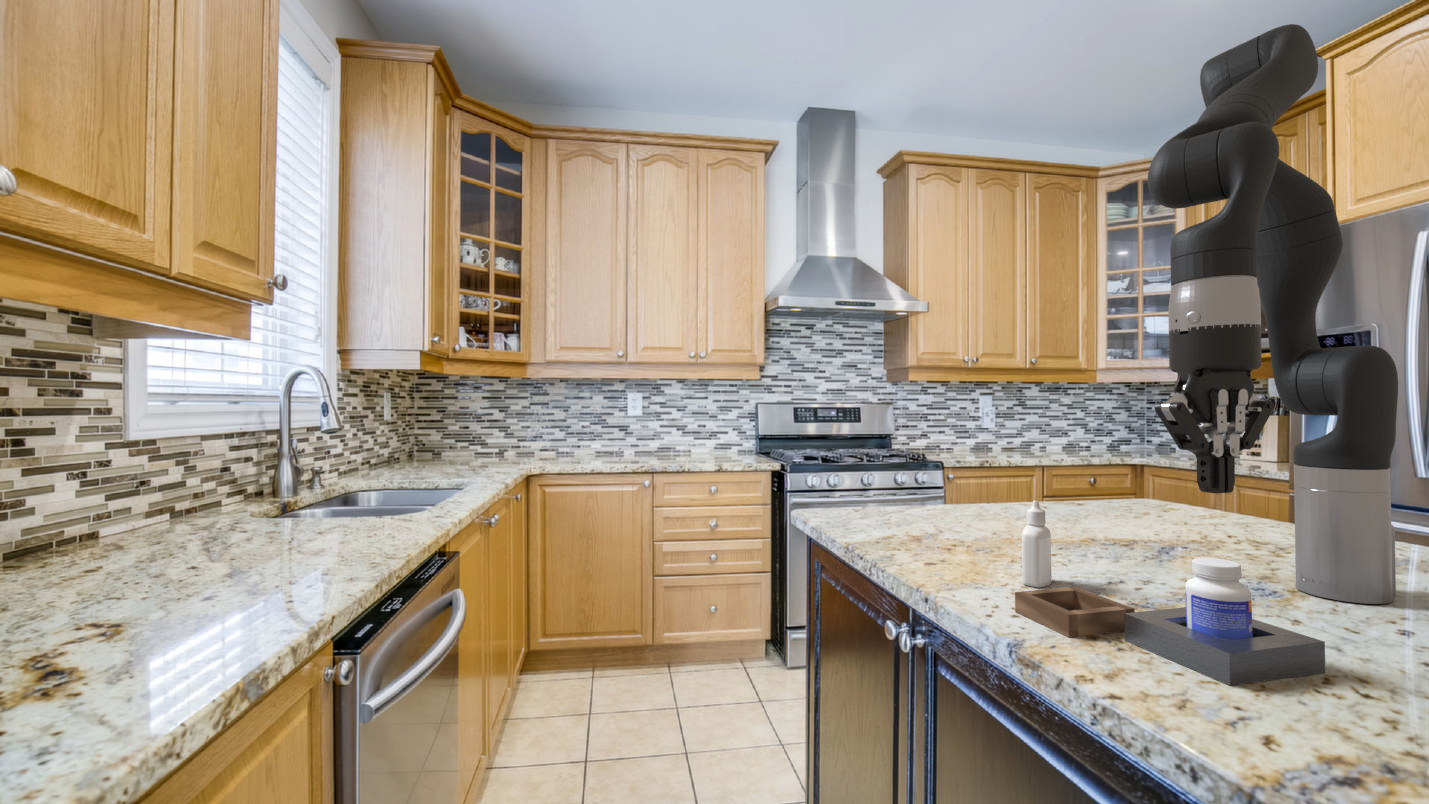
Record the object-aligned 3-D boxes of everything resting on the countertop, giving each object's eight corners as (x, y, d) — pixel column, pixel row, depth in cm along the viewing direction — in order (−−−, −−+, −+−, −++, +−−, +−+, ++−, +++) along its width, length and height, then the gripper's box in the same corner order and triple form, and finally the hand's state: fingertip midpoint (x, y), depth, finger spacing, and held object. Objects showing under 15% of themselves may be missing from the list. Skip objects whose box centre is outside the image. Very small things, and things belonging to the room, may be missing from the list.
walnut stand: (1075, 605, 81) (1075, 586, 81) (1134, 630, 73) (1134, 608, 73) (1015, 611, 80) (1014, 591, 80) (1068, 637, 71) (1068, 615, 71)
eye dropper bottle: (1064, 585, 90) (1063, 502, 90) (1032, 589, 89) (1031, 504, 89) (1040, 577, 95) (1039, 497, 95) (1010, 580, 93) (1008, 500, 93)
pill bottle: (1266, 668, 62) (1264, 569, 62) (1204, 664, 63) (1202, 567, 63) (1232, 647, 67) (1231, 556, 67) (1176, 643, 69) (1174, 554, 69)
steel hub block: (1208, 630, 72) (1208, 604, 72) (1325, 672, 61) (1324, 641, 61) (1124, 640, 70) (1124, 613, 70) (1230, 685, 58) (1229, 653, 58)
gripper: (1228, 330, 70) (1230, 485, 70) (1128, 329, 68) (1131, 490, 68) (1303, 321, 63) (1306, 494, 63) (1195, 320, 60) (1198, 500, 60)
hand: (1215, 491), depth 65 cm, fingers closed
